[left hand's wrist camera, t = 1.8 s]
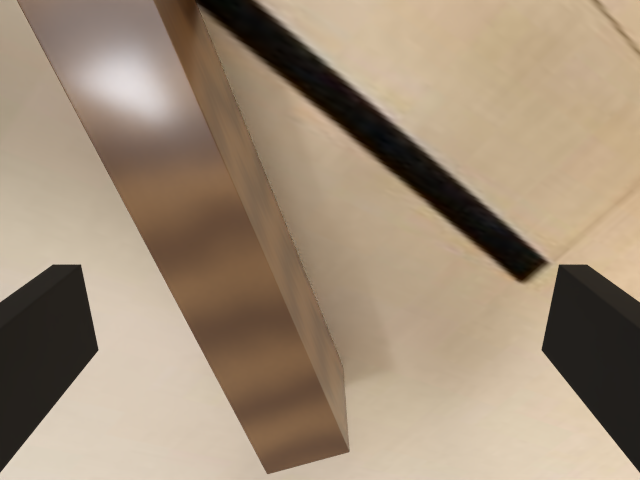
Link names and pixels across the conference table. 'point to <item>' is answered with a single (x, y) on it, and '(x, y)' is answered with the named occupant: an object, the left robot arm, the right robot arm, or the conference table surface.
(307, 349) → the post
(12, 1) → the conference table surface
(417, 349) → the conference table surface
